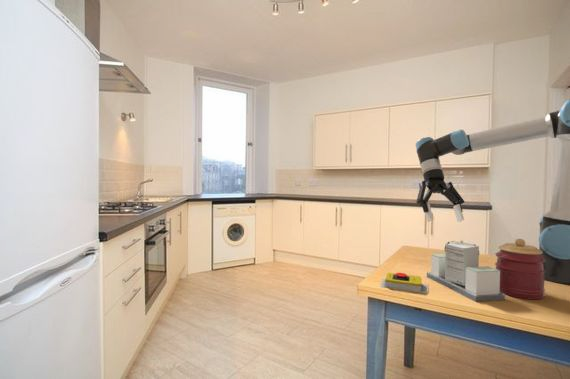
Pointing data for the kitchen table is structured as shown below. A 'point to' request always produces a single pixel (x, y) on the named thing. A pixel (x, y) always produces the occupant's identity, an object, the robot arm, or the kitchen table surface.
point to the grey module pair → (471, 276)
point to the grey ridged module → (460, 261)
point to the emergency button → (404, 282)
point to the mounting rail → (463, 291)
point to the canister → (521, 270)
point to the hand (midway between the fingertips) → (445, 220)
